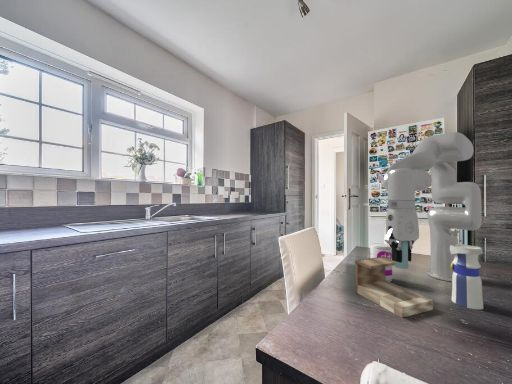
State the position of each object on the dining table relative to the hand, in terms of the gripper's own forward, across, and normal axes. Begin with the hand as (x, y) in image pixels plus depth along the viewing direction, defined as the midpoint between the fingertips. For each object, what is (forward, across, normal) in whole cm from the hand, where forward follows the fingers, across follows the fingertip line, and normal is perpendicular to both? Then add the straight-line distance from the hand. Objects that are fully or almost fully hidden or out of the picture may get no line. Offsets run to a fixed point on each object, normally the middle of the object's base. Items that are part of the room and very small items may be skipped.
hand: (401, 260), depth 71 cm
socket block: (+15, 0, +4) cm, 16 cm away
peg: (+2, 0, 0) cm, 2 cm away
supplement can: (+15, +13, +19) cm, 28 cm away
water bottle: (+15, +22, -6) cm, 28 cm away
